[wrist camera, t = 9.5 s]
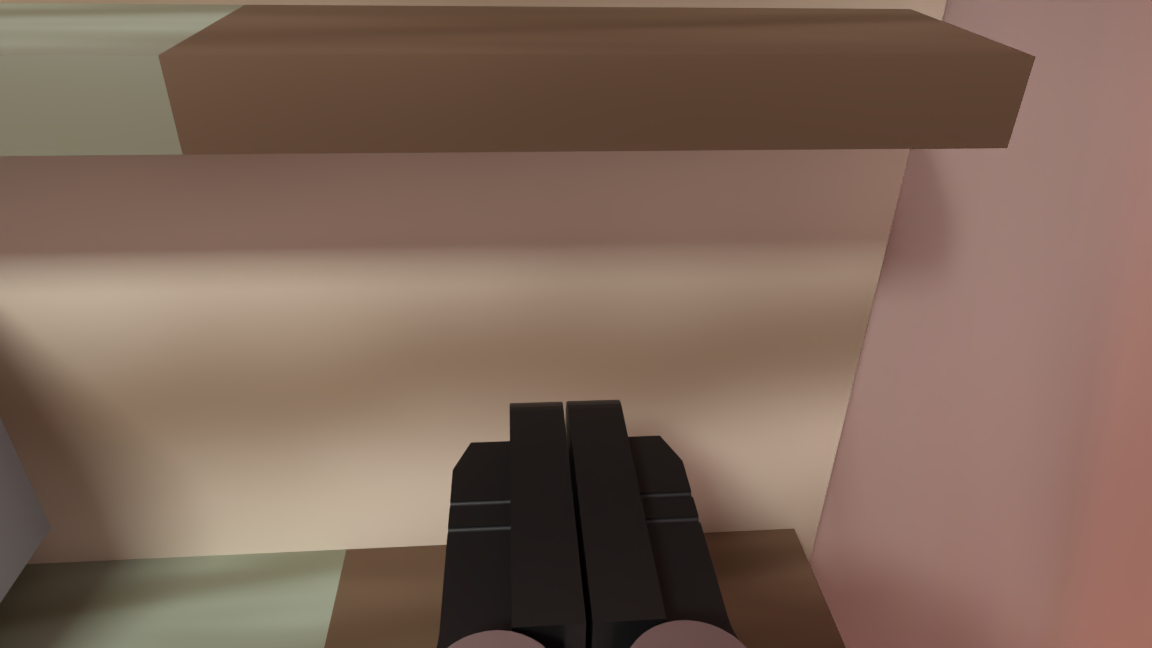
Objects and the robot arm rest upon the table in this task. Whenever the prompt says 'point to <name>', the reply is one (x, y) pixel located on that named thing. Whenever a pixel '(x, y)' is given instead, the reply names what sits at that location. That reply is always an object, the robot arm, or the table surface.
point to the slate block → (17, 515)
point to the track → (436, 283)
